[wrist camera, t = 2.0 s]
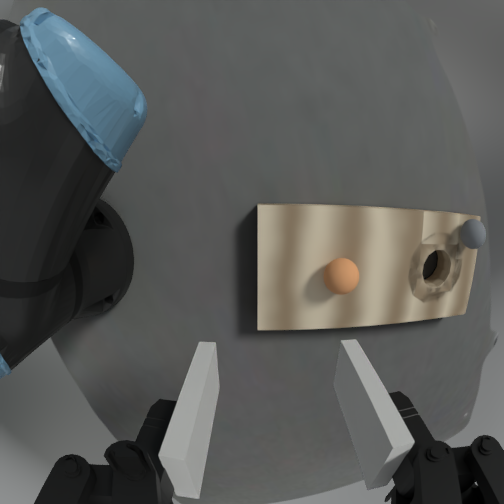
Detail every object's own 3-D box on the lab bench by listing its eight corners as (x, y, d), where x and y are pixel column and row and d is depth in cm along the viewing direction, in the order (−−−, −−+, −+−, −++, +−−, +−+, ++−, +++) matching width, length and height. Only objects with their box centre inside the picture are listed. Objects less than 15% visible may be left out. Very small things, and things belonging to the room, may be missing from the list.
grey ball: (453, 245, 26) (471, 252, 23) (456, 216, 26) (474, 220, 22) (471, 246, 26) (489, 252, 23) (474, 218, 26) (492, 221, 22)
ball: (319, 287, 28) (326, 300, 24) (321, 254, 27) (329, 263, 24) (351, 287, 28) (362, 299, 24) (354, 254, 27) (366, 262, 24)
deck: (257, 317, 32) (257, 330, 29) (257, 203, 29) (257, 205, 26) (453, 305, 31) (464, 313, 28) (466, 214, 28) (480, 216, 26)
